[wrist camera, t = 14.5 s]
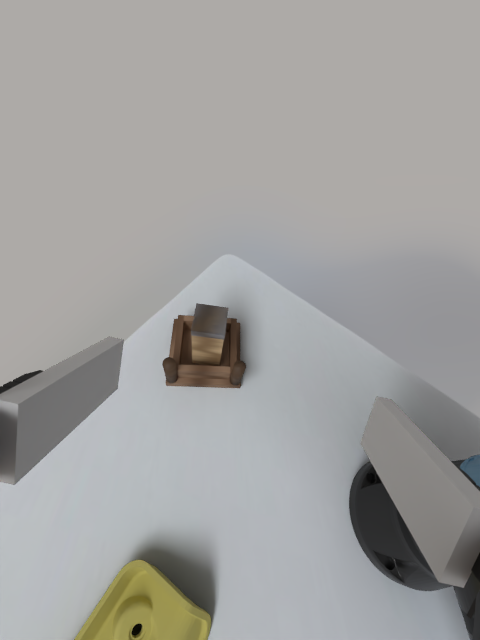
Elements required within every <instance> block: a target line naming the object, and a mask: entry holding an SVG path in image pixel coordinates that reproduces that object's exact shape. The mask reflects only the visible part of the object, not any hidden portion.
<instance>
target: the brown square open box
mask: <svg viewBox="0 0 480 640" xmlns="http://www.w3.org/2000/svg"><path fill="white" fill-rule="evenodd" d="M193 319H194V316H184V315H178V319H174V324H173V332H172V339H171V347H170V354H169V357H168V358H166V359H164V361H163V368H164V372H165V376H166V386H192V387H221V388H240V386H241V379H242V376H243V374H244V371H245V368H246V365H245V363H244V362H243V361H240V323H237V319H233V318H227V323H226V331H225V338H224V341H223V347H222V353H221V359H220V364H219V366H210V365H203V364H195V363H192V335H191V329H192V324H193Z"/></svg>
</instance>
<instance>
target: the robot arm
mask: <svg viewBox="0 0 480 640" xmlns="http://www.w3.org/2000/svg"><path fill="white" fill-rule="evenodd" d="M123 343H124V340H122V339H118V338H113V337H107V338H106V339H104V340H102V341H100V342H98V343H96V344H94V345H92V346H90V347H89V348H87V349H85V350H83V351H81V352H79V353H77V354H75V355H73V356H72V357H70V358H68V359H66V360H64V361H62V362H60V363H58V364H56V365H54V366H53V367H51V368H49V369H47V370H45V371H41V370H39V371H35V372H32V373H28V374H24V375H22V376H20V377H19V378H16V379H14V380H13V382H9V383H7V384H4V385H3V387H2V386H1V387H0V482H4V483H8V484H12V485H15V484H16V483H17V482H18V481H19V480H20V479H21V478H22V477H23V476H25V475H26V474H27V473H28V472H29V471H30V470H31V469H32V468H33V467H34V466H35V465H36V464H37V463H38V462H40V461H41V460H42V459H43V458H44V457H45V456H46V455H47V454H48V453H49V452H50V451H51V450H52V449H53V448H55V447H56V446H57V445H58V444H59V443H60V442H61V441H62V440H63V439H64V438H65V437H66V436H67V435H68V434H70V433H71V432H72V431H73V430H74V429H75V428H76V427H77V426H78V425H79V424H80V423H81V422H82V421H83V420H84V419H86V418H87V417H88V416H89V415H90V414H91V413H92V412H93V411H94V410H95V409H96V408H97V407H98V406H99V405H101V404H102V403H103V402H104V401H105V400H106V399H107V398H108V397H109V396H110V395H111V394H112V393H113V392H114V391H116V390H117V389H118V381H119V373H120V366H121V358H122V350H123ZM360 444H361V445H362V447H363V449H364V451H365V453H366V454H367V456H368V458H369V460H370V462H369V463H367V464H366V465H364V466H363V467H362V468H361V469H360V470H359V472H358V473H357V475H356V477H355V478H354V481H353V483H352V487H351V491H350V500H349V508H350V516H351V521H352V525H353V529H354V532H355V535H356V537H357V539H358V542H359V544H360V546H361V547H362V549H363V551H364V552H365V554H366V555H367V557H368V558H369V560H370V561H371V562H372V563H373V564H374V565H375V566H376V568H377V569H379V570H380V571H381V572H382V573H383V574H384V575H386V576H387V577H388V578H390V579H392V580H393V581H395V582H397V583H399V584H402V585H404V586H407V587H409V588H412V589H415V590H421V591H435V590H439V589H443V588H446V587H450V586H453V587H454V590H455V593H456V596H457V599H458V603H459V606H460V608H461V611H462V615H463V618H464V621H465V624H466V628H467V631H468V634H469V638H470V640H480V455H475V456H471V457H470V458H468V459H466V460H459V461H450V460H449V459H448V458H447V457H446V456H445V455H444V454H443V453H442V452H441V451H440V449H439V448H438V447H437V446H436V445H435V444H434V443H433V442H432V441H431V440H430V439H429V438H428V437H427V436H426V435H425V434H424V433H423V432H422V431H421V430H420V429H419V428H418V427H417V426H416V425H415V423H414V422H413V421H412V420H411V419H410V418H409V417H408V416H407V415H406V414H405V413H404V412H403V411H402V410H401V409H400V408H399V407H398V406H397V405H396V404H395V403H394V402H393V401H392V400H391V399H387V398H382V397H378V396H377V397H376V399H375V402H374V405H373V408H372V411H371V414H370V417H369V420H368V422H367V425H366V428H365V431H364V434H363V437H362V440H361V443H360Z"/></svg>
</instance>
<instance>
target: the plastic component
mask: <svg viewBox="0 0 480 640" xmlns="http://www.w3.org/2000/svg"><path fill="white" fill-rule="evenodd" d="M138 623H139V624H142V629H141V631H140V633H139V634H138V635H135V636H134V635H132V634H131V632H132V629H133V627H134V626H135V625H136V624H138ZM210 628H211V617H210V615H209V614H208V613H207V612H206V611H205V610H203V609H201V608H200V607H198V606H197V605H196V604H194V603H193V602H192V601H191V600H190V599H189V598H187V597H186V596H185V595H184V594H183V593H182V592H181V591H180V590H179V589H178V588H177V587H176V586H175V585H174V584H173V583H172V582H171V581H170V580H169V579H168V578H167V577H166V576H165V575H164V574H163V573H162V572H161V571H160V570H159V569H158V568H157V567H155V566H153V565H151V564H149V563H147V562H145V561H143V560H135V561H132V562H130V563H128V564H127V565H125V566H124V567H123V568H122V569H121V571H120V572H119V573H118V575H117V576H116V578H115V579H114V581H113V582H112V584H111V585H110V587H109V588H108V590H107V591H106V593H105V594H104V596H103V597H102V599H101V600H100V602H99V603H98V605H97V606H96V608H95V609H94V611H93V612H92V614H91V615H90V617H89V618H88V620H87V621H86V623H85V624H84V626H83V627H82V629H81V630H80V632H79V633H78V635H77V636H76V638H75V639H74V640H207V639H208V636H209V632H210Z"/></svg>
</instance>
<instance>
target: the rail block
mask: <svg viewBox="0 0 480 640" xmlns="http://www.w3.org/2000/svg"><path fill="white" fill-rule="evenodd" d="M227 315H228V308H226V307H219V306H212V305H205V304H198V303H197V304H196V309H195V314H194V319H193V324H192V329H191V335H192V363H195V364H203V365H210V366H219V364H220V359H221V353H222V347H223V341H224V338H225V331H226V323H227Z"/></svg>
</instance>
